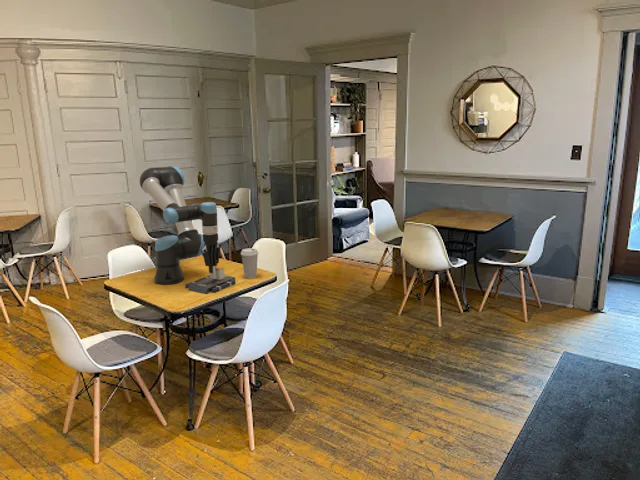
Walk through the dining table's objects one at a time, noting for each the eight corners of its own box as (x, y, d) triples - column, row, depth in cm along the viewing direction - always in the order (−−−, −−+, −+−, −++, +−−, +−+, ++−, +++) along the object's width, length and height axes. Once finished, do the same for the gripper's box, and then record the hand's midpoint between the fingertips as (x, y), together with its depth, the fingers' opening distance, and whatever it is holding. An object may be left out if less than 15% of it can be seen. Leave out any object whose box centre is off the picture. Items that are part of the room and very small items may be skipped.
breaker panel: (188, 290, 243) (188, 285, 242) (217, 278, 262) (217, 273, 261) (206, 293, 237) (206, 288, 237) (235, 281, 256) (235, 276, 255)
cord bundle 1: (185, 287, 247) (184, 283, 246) (209, 278, 262) (209, 274, 262) (191, 289, 245) (191, 285, 244) (215, 279, 260) (215, 275, 259)
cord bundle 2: (211, 292, 240) (210, 288, 239) (232, 283, 253) (231, 279, 253) (215, 293, 238) (214, 289, 238) (236, 284, 252) (235, 280, 252)
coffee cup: (256, 279, 259) (255, 252, 256) (239, 278, 261) (237, 251, 257) (261, 274, 268) (260, 248, 265) (245, 273, 270) (244, 247, 267)
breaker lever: (212, 278, 253) (212, 268, 251) (217, 276, 256) (216, 266, 254) (220, 279, 250) (219, 269, 249) (224, 278, 253) (224, 267, 252)
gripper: (207, 236, 237) (210, 282, 242) (224, 231, 248) (226, 275, 253) (195, 235, 240) (198, 280, 245) (213, 230, 251) (215, 273, 256)
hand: (212, 278), depth 249 cm, fingers closed
